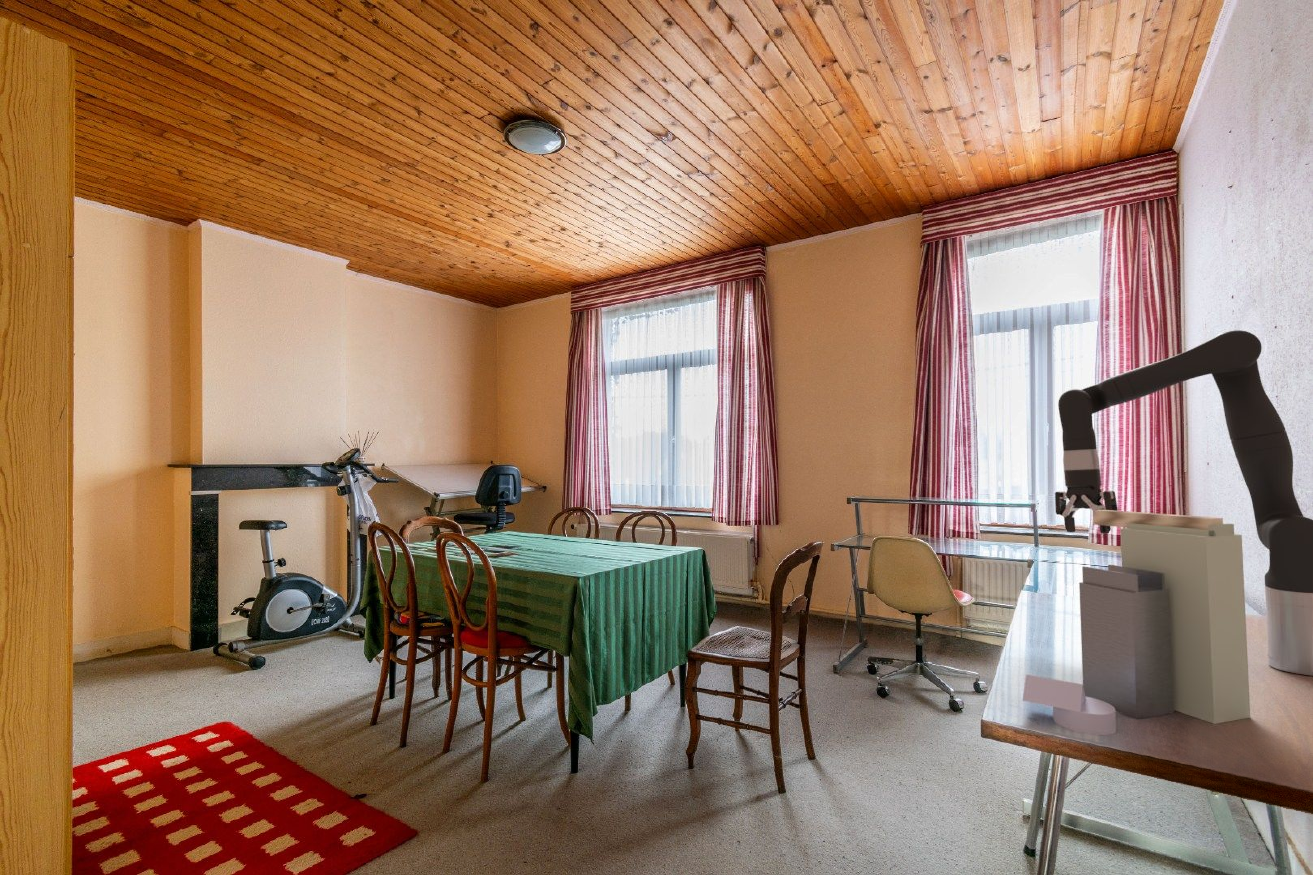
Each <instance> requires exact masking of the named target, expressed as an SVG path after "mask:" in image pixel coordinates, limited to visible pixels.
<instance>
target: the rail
mask: <svg viewBox="0 0 1313 875" xmlns="http://www.w3.org/2000/svg"><path fill="white" fill-rule="evenodd" d="M1092 521H1093V522H1092V523H1093V524H1092V525H1097V526H1100V525H1105V526H1111V527H1116V528H1128V527H1127V523H1134V524H1146V525H1157V526H1169V527H1180V528H1191V529H1203V530H1209V525H1212V524H1224V518H1222V517H1215V516H1214V517H1213V516H1212V517H1211V516H1199V515H1198V516H1197V515H1184V514H1183V515H1182V514H1170V513H1169V514H1168V513H1157V512H1139V511H1127V510H1118V511H1114V510H1092Z"/></svg>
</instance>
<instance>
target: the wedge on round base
mask: <svg viewBox="0 0 1313 875" xmlns="http://www.w3.org/2000/svg"><path fill="white" fill-rule="evenodd" d="M1022 701H1023V702H1028V703H1034V704H1039V705H1043V706H1048V707H1052V717H1053V718H1052V720H1053V721H1054V722H1055V723H1056V724H1058V725H1059V726H1061V727H1062V728H1063V727H1064V728H1066V729H1068V730H1071V731H1075V732H1078V733H1082V734H1086V735H1096V736H1097V735H1098V736H1105V735H1106V736H1109V735H1112V734H1114V733H1116V732H1117V720H1116V719H1117V718H1116V711H1115V708H1114V707H1113V706H1112V705H1110V704H1108V703H1106V702H1104V701H1101V700H1098V699H1095V698H1091V697H1086V696H1085V692H1084V688H1083V683H1076V682H1071V681H1064V680H1060V679H1056V678H1055V679H1053V678H1049V677H1048V678H1047V677H1045V676H1044V677H1043V676H1037V675H1032V674H1025V681H1024V688H1023V695H1022Z"/></svg>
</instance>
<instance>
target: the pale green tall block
mask: <svg viewBox="0 0 1313 875" xmlns="http://www.w3.org/2000/svg"><path fill="white" fill-rule="evenodd" d="M1127 527H1128V528H1126V527H1122V528H1120V530H1119V531H1120V551H1121V552H1120V554H1121V555H1120V556H1121V557H1120V558H1121V566H1122V567H1129V568H1135V569H1141V570H1148V571H1154V572H1161V573H1164V575H1165V589H1169V607H1170V631H1171V654H1172V678H1173V702H1174V711H1176V712H1179V713H1182V714H1184V715H1187V716H1191V717H1193V718H1196V719H1198V720H1202V721H1205V722H1207V723H1211V724H1213V725H1216V724H1221V723H1222V724H1223V723H1227V722H1233V721H1238V720H1245V719H1248V718H1249V719H1250V718H1251V704H1250V703H1251V702H1250V685H1249V684H1250V682H1249V661H1248V658H1249V657H1248V642H1247V641H1248V638H1247V636H1248V635H1247V619H1246V617H1247V616H1246V614H1247V613H1246V597H1245V579H1244V578H1245V575H1244V557H1243V555H1244V554H1243V553H1244V552H1243V535H1242V534H1238V533H1237V534H1236V533H1235V524H1234V523H1223V524H1212V525H1209V530H1203V529H1191V528H1180V527H1169V526H1157V525H1146V524H1134V523H1127Z"/></svg>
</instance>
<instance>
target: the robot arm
mask: <svg viewBox="0 0 1313 875" xmlns="http://www.w3.org/2000/svg"><path fill="white" fill-rule="evenodd" d="M1261 352H1262V342H1261V340H1260V339H1259V337H1257V336H1256V335H1255V334H1253V333H1251V332H1249V331H1246V330H1239V329H1238V330H1237V329H1232V330H1228V331H1227V330H1226V331H1223V332H1221V333H1219V334H1217V335H1216V336H1214V337H1213V338H1211V339H1209V340H1207V341H1205V342H1203V343H1201V344H1198V345H1197V346H1195V347H1192V348H1191V349H1188V350H1185V351H1184V352H1181V353H1178V354H1176V355H1174V356H1171V357H1168V358H1165V359H1162V360H1159V361H1156V362H1152V363H1149V364H1146V365H1144V366H1143V365H1142V366H1140V367H1137V368H1134V369H1131V370H1127V371H1125V372H1122V373H1117V374H1116V375H1114V376H1111V377H1108V378H1107V377H1106V379H1103V380H1102V381H1100V382H1098V383H1097V384H1093V385H1091V386H1087V387H1085V388H1082V389H1081V388H1080V389H1079V388H1076V389H1075V388H1073V389H1068V390H1066V391H1064V392H1063V393H1062V394H1061V395H1060V396H1059V399H1058V401H1057V402H1058V403H1057V404H1058V405H1057V406H1058V412H1059V413H1058V414H1059V419H1060V423H1061V424H1060V425H1061V429H1062V437H1061V438H1062V447H1063V448H1062V449H1063V450H1062V451H1063V458H1062V460H1063V472H1064V473H1063V474H1064V483H1065V487H1066V488H1067V490H1066V491H1063V490H1061V491H1056V492H1055V493H1054V498H1055V500H1054V501H1055V503H1054V504H1055V514H1056V515H1059V516H1062V517H1063V518H1064V528H1065V530H1066V532H1068V533H1075V532H1076V524H1075V522H1076V521H1075V517H1074V515H1075V513H1076V512H1078V511H1079V510H1080V509H1088V510H1089V509H1090V510H1092V511H1093V510H1114V511H1119V509H1118V504H1117V498H1116V497H1117V496H1116V492H1115V490H1105V491H1102V489H1101V486H1102V477H1101V469H1100V468H1101V467H1100V458H1099V454H1098V450H1097V439H1096V432H1095V430H1094V429H1095V428H1094V427H1093V426H1094V425H1093V414H1096V413H1098V412H1101V411H1103V410H1107V409H1108V408H1111V407H1115V406H1118V405H1121V404H1122V405H1123V404H1124V403H1128V402H1130V401H1131V402H1132V401H1135V400H1137V399H1140V398H1144V397H1146V396H1149V395H1151V394H1154V393H1158V392H1159V391H1162V390H1165V389H1166V388H1169V387H1172V386H1174V385H1177V384H1180V383H1182V382H1185V381H1188V380H1192V379H1195V378H1199V377H1202V376H1207V375H1211V376H1212V378H1213V380H1214V381H1215V384H1216V387H1217V389H1218V391H1219V394H1220V396H1221V401H1222V406H1223V413H1224V418H1225V422H1226V423H1225V424H1226V427H1227V428H1226V429H1227V430H1228V435H1229V439H1230V442H1231V446H1232V449H1233V452H1234V456H1235V458H1236V461H1237V463H1238V467H1239V469H1240V472H1241V474H1242V478H1243V479H1244V480H1243V481H1244V482H1245V485H1246V488H1247V489H1248V492H1249V495H1250V499H1251V504H1252V510H1253V516H1254V521H1255V527H1256V528H1255V529H1256V534H1257V536H1258V540H1259V541H1260V542H1261V544H1262V545H1263V546H1264V547H1265V548H1266V549H1268V550H1269V566H1268V570H1267V572H1266V573H1265V575H1264V595H1265V608H1266V609H1265V613H1266V615H1265V616H1266V635H1267V656H1268V665H1269V666H1270V667H1272V668H1274V669H1276V670H1279V671H1283V672H1288V673H1293V674H1298V675H1306V676H1313V519H1312V518H1310V517H1306V516H1304V514H1303V512H1302V510H1301V508H1300V506H1299V503H1298V500H1297V498H1296V495H1295V492H1294V486H1293V484H1294V483H1293V478H1294V477H1293V474H1294V456H1293V454H1294V453H1293V449H1292V445H1291V442H1290V439H1289V435H1288V433H1287V430H1286V427H1285V426H1284V423H1283V420H1282V418H1281V416H1280V414H1279V412H1278V411H1277V409H1276V407H1275V406H1274V404H1273V403H1272V400H1270V398H1269V396H1268V394H1267V392H1266V391H1265V389H1264V386H1263V382H1262V378H1261V375H1260V370H1259V364H1258V359H1259V358H1260V355H1261ZM1067 500H1068V503H1067ZM1101 500H1103V501H1104V503H1103V502H1102V501H1101ZM1111 527H1112V526H1105V525H1099V532H1100V534H1102V535H1105V534H1106V535H1107V534H1109V533H1110V532H1111V530H1112V528H1111Z"/></svg>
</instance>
